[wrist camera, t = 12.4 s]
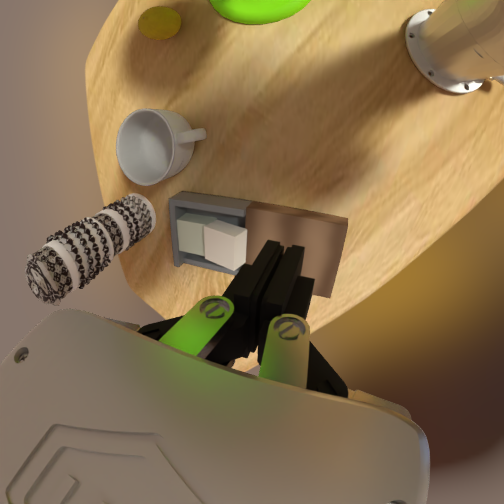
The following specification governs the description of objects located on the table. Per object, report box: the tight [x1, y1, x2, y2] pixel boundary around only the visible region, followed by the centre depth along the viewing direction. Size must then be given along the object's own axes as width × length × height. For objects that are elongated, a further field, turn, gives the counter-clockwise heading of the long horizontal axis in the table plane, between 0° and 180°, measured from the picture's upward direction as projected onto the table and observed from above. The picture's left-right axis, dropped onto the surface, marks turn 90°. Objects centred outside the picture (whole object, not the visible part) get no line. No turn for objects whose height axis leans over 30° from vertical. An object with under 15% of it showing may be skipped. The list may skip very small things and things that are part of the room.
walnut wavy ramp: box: [243, 201, 348, 298], centre depth 41 cm, size 14×12×3 cm
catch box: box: [169, 191, 252, 275], centre depth 43 cm, size 12×12×4 cm
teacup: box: [116, 109, 207, 186], centre depth 36 cm, size 14×11×8 cm
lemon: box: [138, 6, 181, 40], centre depth 27 cm, size 6×6×8 cm
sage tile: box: [177, 213, 217, 256], centre depth 44 cm, size 6×6×3 cm
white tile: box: [204, 220, 247, 271], centre depth 41 cm, size 6×6×3 cm
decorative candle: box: [25, 193, 156, 306], centre depth 38 cm, size 9×9×25 cm
